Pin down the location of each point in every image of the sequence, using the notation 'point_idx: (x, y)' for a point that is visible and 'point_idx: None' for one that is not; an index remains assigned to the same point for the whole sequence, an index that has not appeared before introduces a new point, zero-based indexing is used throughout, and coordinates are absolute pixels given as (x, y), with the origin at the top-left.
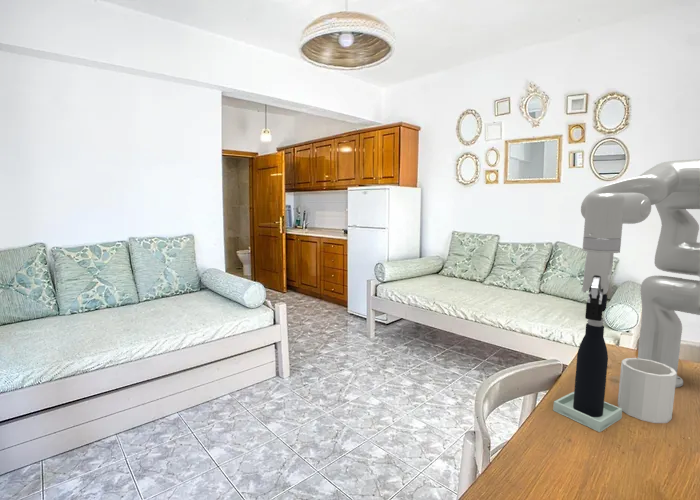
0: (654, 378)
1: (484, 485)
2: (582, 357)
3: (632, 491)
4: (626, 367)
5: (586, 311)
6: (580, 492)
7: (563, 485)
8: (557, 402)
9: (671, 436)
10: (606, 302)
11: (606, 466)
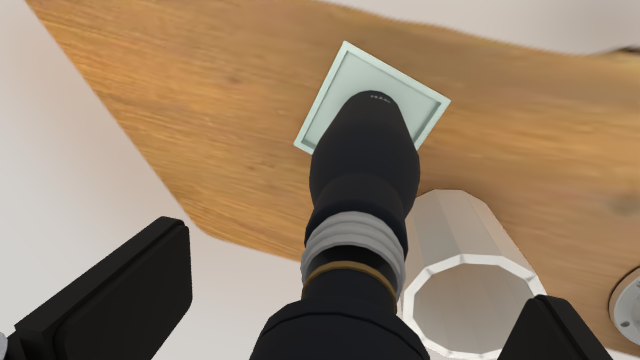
0: (402, 300)
1: None
2: (324, 134)
3: (154, 164)
4: (446, 255)
5: (122, 252)
6: (100, 95)
7: (97, 71)
8: (342, 50)
9: None
10: None
11: (191, 138)
